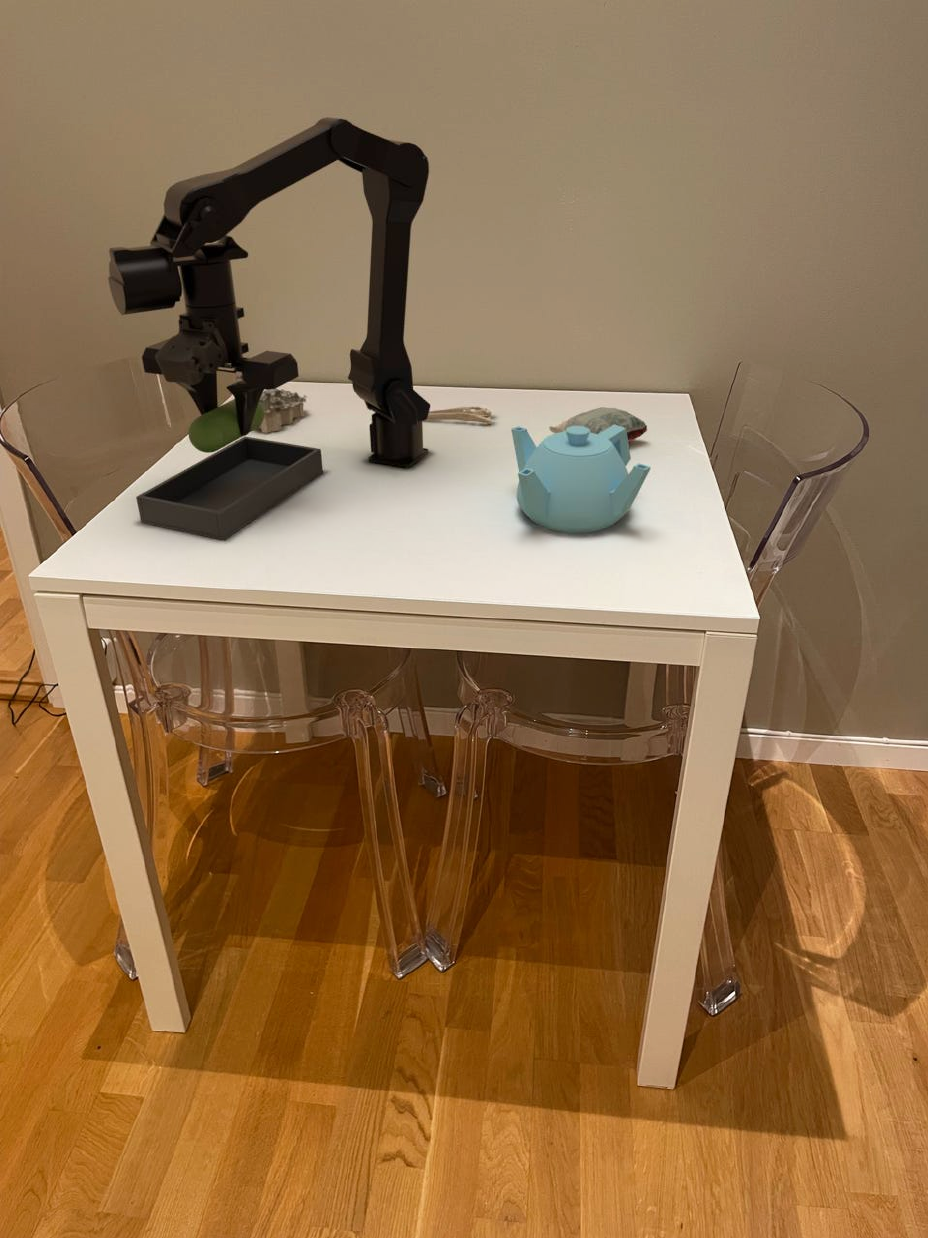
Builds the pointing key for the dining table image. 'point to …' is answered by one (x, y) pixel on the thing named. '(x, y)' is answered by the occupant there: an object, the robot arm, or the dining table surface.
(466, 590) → the dining table surface
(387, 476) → the dining table surface
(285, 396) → the egg carton
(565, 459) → the teapot
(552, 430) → the packaged food
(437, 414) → the animal skull
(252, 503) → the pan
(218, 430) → the squash
